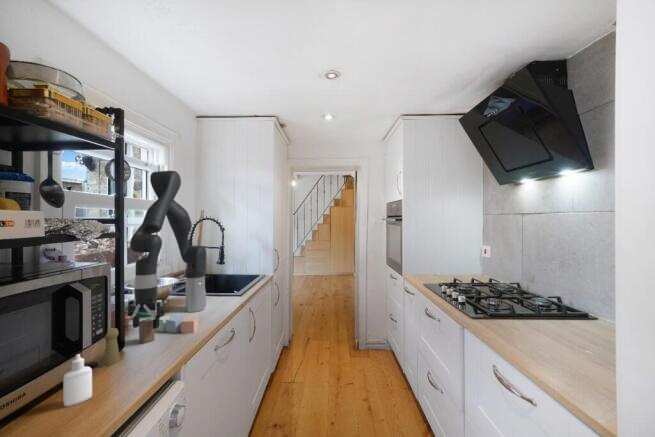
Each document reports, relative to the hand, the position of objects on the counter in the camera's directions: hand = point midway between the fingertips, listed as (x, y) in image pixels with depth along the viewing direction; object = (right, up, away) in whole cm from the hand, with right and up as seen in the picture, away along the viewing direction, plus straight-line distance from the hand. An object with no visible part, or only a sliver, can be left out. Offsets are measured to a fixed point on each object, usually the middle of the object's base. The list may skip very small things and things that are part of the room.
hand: (145, 327), depth 113 cm
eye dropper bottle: (+5, -5, -37) cm, 38 cm away
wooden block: (0, -6, 0) cm, 6 cm away
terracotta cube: (+12, -5, +10) cm, 17 cm away
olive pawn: (-2, -5, -17) cm, 18 cm away
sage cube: (-2, -5, +13) cm, 14 cm away
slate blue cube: (+5, -5, +12) cm, 14 cm away
